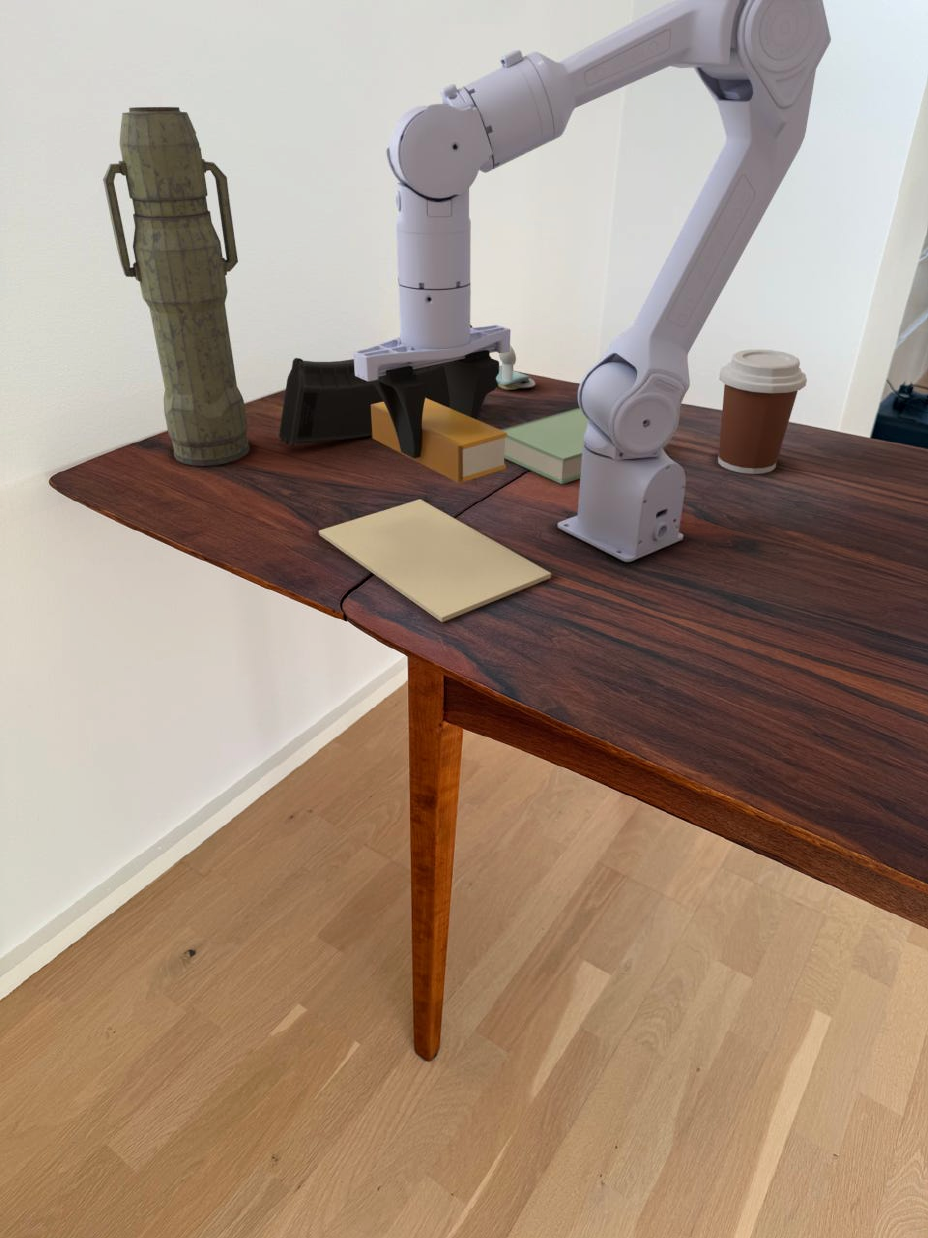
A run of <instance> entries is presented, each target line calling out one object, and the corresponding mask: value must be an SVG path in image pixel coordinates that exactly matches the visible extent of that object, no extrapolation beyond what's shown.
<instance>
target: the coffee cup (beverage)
mask: <svg viewBox="0 0 928 1238" xmlns="http://www.w3.org/2000/svg"><path fill="white" fill-rule="evenodd" d="M800 365H801V361H800V359H799V358H798V357H797V356H796V355H793V354H791V353H788V352H784V351H779V350H773V349H745V350H739V351H737V352H735V353H733V354H732V356H731V361H730V362H728V363H727V364H726V365H724V366H723V367H721V368H720V370H719V378H718V380H719V381H721V382H722V383H723V385H724V387H723V399H722V412H721V424H720V435H719V449H718V456H717V463H718V464H719V465H720V466H721V467H722V468H724V469H726V470H729V471H732V472H736V473H741V474H747V475H757V474H758V475H759V474H766V473H770V472H772V471H773V470H775V469H776V466H777V462H778V458H779V455H780V452H781V449H782V446H783V442H784V438H785V436H786V433H787V428H788V425H789V422H790V419H791V416H792V412H793V409H794V405H795V403H796V402H795V401H796V398H797V395H798V392H799V391H801V390H802V389H804V388H805V387H806V386H807V382H808V378H807V374H806V373H805V372H803V371H802V369H801V368H800Z"/></svg>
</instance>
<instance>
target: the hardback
mask: <svg viewBox="0 0 928 1238" xmlns="http://www.w3.org/2000/svg"><path fill="white" fill-rule="evenodd" d="M587 425H588V419H587V418H586V417H585V416H584V414H583V413H582V411H581V410H580V407H577V408H573V409H571V410H566V411H563V412H560V413H556V414H552V415H549V416H545V417H542V418H538V419H533V420H530V421H527V422H523V423H520V424H516V425H513V426H509V427H505V428H502V429H500V430H502V431H504V432H506V433H507V437H505V449H504V460H507V461H509V462H512V463H514V464H515V465H519V466H521V467H523V468H525V469H527V470H529V471H531V472H533V473H536V474H538V475H541V476H542V477H545V478H547V479H549V480H551V481H553V482H556V483H558V484H560V485H564V484H567V483H570V482H573V481H577V480H580V476H581V463H582V450H583V437H584V434H585V432H586V429H587Z"/></svg>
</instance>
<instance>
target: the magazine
mask: <svg viewBox="0 0 928 1238" xmlns="http://www.w3.org/2000/svg"><path fill="white" fill-rule="evenodd" d="M470 328H474V327H473V325H472V324H470ZM490 358H492V356H491V355H490ZM413 374H417V379H419V380H421V381H423V382H426V383H427V384H428V385H429V387H428V390H427V393H426V397H425V398H427V399H429V400H432V401H434V402H436V403H439V404H441V405H443V406H446V407H448V408H450V398H449V390H448V384H447V379H446V374H445V370H444V366H443V363H440V364H435V365H431V366H426V367H421V368H416V369H413ZM497 387H498V383H497V380H496V378H495V380H494V381H493V383H492V385H491V387H490V388H489V390H488V393H487V395H488V394H490V393H492V392H493V391H495V390H496V388H497ZM380 402H384V401H383V399H382V398H381V396H380V394H379V392H378V391H377V389H376V387H375V386H374V384H373V383H372V381H369V382H368V381H366V380H363V379H361V378H359V377H356V376H355V369H354V358H352V359H345V360H336V361H335V360H334V361H310V360H303V359H302V358H300V357H295V358H293V360H292V365H291V369H290V371H289V373H288V376H287V379H286V385H285V392H284V400H283V405H282V406H283V407H282V411H281V420H280V425H279V426H280V428H279V431H278V432H279V433H278V437H279V439H280V442H282V443H283V444H285V445H287V446H288V445H289V446H295V445H297V444H309V443H320V442H321V443H322V442H332V441H345V440H346V441H347V440H353V439H360V438H368V437H373V435H372V418H371V404H375V403H380Z"/></svg>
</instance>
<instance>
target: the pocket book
mask: <svg viewBox="0 0 928 1238" xmlns="http://www.w3.org/2000/svg"><path fill="white" fill-rule="evenodd" d="M371 418H372V435H373V436H372V439H373V440H374V441H377V442H378V443H380V444H382V445H384V446H386V447H388V448H389V449H391V450H394V451H395V452H398V453H399V454H401V455H404V456H405V457H408V458H409V459H411V460H412V461H415V462H417V463H419V464H421V465H423V466H425V467H427V468H428V469H430V470H432V471H434V472H436V473H438V474H439V475H442V476H444V477H446V478H447V479H449V480H451V481H453V482H455V483H457V484H460V483H461V484H462V483H464V482H468V481H470V480H474V479H477V478H480V477H483V476H487V475H490V474H493V473H494V474H495V473H497V472H501V471H504V470H506V469H507V465H506V464H505V458H504V449H505V437H507V433H506V432H504V431H502V430H501V429H499V428H497V427H495V426H492V425H490V424H488V423H485V422H483V421H481V420H479V419H478V420H476V419H474V418H471V417H469V416H467V415H464V414H462V413H460V412H457V411H455V410H453V409H450V408H448V407H446V406H443V405H441V404H439V403H436V402H434V401H432V400H429V399H427V398H425V402H424V408H423V416H422V449H421V455H420V457H418V458H412V457H410V456H408V455H406V454H404V453H402V452H401V449H400V445H399V441H398V437H397V434H396V431H395V428H394V425H393V422H392V419H391V417H390V414H389V412H388V410H387V407H386V405H385V403H384V402H380V403H375V404H371Z"/></svg>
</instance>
